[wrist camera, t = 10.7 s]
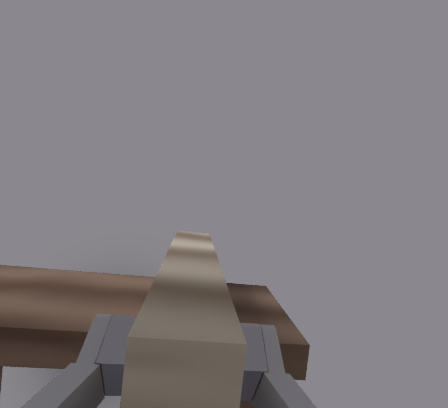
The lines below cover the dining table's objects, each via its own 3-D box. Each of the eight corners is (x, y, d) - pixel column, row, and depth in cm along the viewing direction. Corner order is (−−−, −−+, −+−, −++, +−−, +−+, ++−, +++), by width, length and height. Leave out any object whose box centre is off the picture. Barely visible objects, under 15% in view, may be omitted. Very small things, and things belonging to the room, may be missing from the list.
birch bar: (233, 457, 7) (247, 344, 7) (115, 454, 7) (127, 336, 7) (205, 265, 27) (209, 233, 27) (174, 262, 27) (177, 230, 27)
